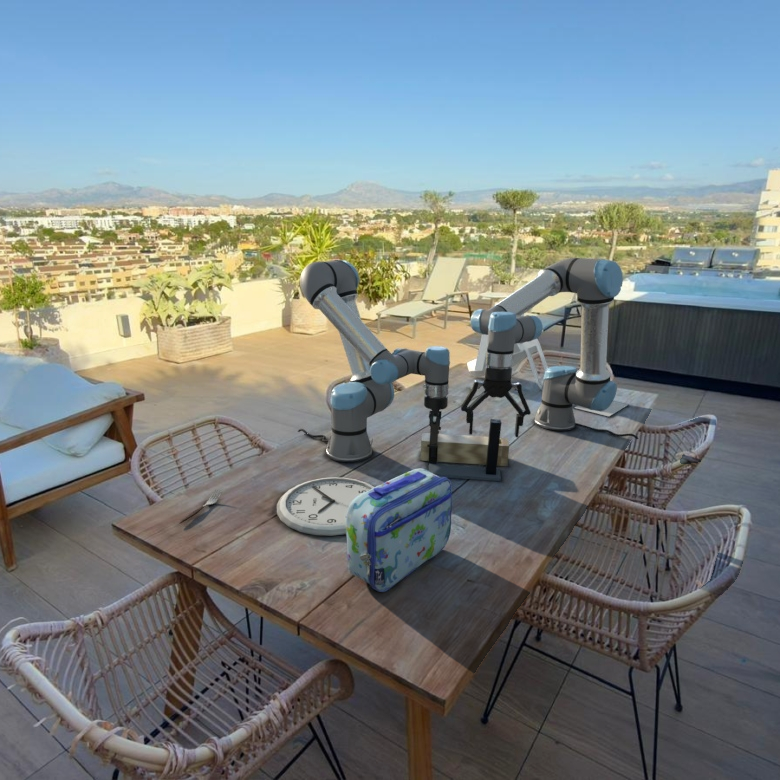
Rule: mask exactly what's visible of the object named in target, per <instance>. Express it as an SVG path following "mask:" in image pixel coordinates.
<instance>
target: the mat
mask: <svg viewBox="0 0 780 780" xmlns="http://www.w3.org/2000/svg"><path fill="white" fill-rule="evenodd" d="M428 464H429V463H428ZM428 471H429V472H431V473H433V474H435V475H437V476H439V477H446V478H448V479H449V478H450V479H464V480H477V481H478V480H479V481H492V482H493V481H494V482H501V481H502V477H501V471H500V468H499V467H497V469H496V475H491V474H486V466H485V467H484V466H470V465H455V464H441V463H437V464H429V465H428Z"/></svg>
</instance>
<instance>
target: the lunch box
mask: <svg viewBox="0 0 780 780" xmlns="http://www.w3.org/2000/svg"><path fill="white" fill-rule="evenodd" d="M374 487H375V488H373V489H370V490H368V491H366V492H364V493H362V494H360V495H358V496H357V497H356V498H354V500H353V501H352V502H351V504H350V505H349V507H348V510H347V515H346V534H345V535H346V559H347V561H346V562H347V567H348V571H349V573H350V574H351V575H353V576H354V577H357V578H358V579H361V580H362V581H364V582H365V583H366V584H368V585H370V587H371V588H372V589H373V590H375V591H377V592H379V593H385V592H387V591H389V590H390V589H392V588H393V587H394V586H395V585H396V584H397V583H399V582H401V581H402V580H403V579H404V578H406V577H408V576H409V575H411V573H413V572H414V571H415V570H417V569H418V568H419V567H420V566H422V564H424V563H426V562H428V560H431V559H433V558H435V557H436V556H437V555H438V554H440V553H441V552H442V551H443V550H444V549H445V547H446V546H447V543H448V541H449V539H450V536H451V531H452V511H453V510H452V509H453V508H452V507H453V504H452V503H453V501H452V500H453V499H452V483H451V480H450V479H449V478H448V477H439V476H437V475H435V474H433V473H431V472H429V470H428V469H426V468H423V467H421V468H419V467H418V468H414V469H412V470H409V471H406V472H405V473H403V474H400V475H398V476H396V477H394V478H391V479H390V480H387V481H385V482H383V483H381V484H378V485H376V486H374Z"/></svg>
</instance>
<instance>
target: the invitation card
mask: <svg viewBox="0 0 780 780" xmlns="http://www.w3.org/2000/svg"><path fill="white" fill-rule="evenodd" d="M628 406H629V404H627V403H623V402H618V401H614V400H613V402H612V403H611V405H610V406H609V407H608V408H607V409H606V410H604V411H596V410H590V409H588V408H585V407H581V406H578V405H575V406H574V407H573V409H575V410H581V411H584V412H587V413H593V414H596V415H600V416H604V417H608V418H609V417H611V416H613V415H614V414H616V413H617V412H619V411H621V410H623V409H624V408H626V407H628Z"/></svg>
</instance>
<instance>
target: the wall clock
mask: <svg viewBox="0 0 780 780" xmlns="http://www.w3.org/2000/svg"><path fill="white" fill-rule="evenodd" d="M375 487H376V486H374V485H372V484H371V483H369V482H365V481H362V480H359V479H355V478H349V477H338V476H337V477H335V476H333V477H332V476H331V477H322V478H317V479H312V480H307V481H305V482H302V483H299V484H297V485H295V486H293V487H292V488H290V489H288V490H287V491H286V492H285V493H284V494H283V495H281V496H280V498H279V499H278V502H277V503H276V515H277V517H278V518H279V520H280V521H281V522H282V523H283V524H285V525H286V526H287V527H288V528H290V529H293V530H295V531H297V532H299V533H303V534H308V535H312V536H327V537H328V536H329V537H331V536H332V537H333V536H342V535H346V515H347V510H348V507H349V505H350V504H351V502H352V501H353V500H354V498H356V497H357V496H358V495H360V494H362V493H364V492H366V491H368V490H370V489H373V488H375Z"/></svg>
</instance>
